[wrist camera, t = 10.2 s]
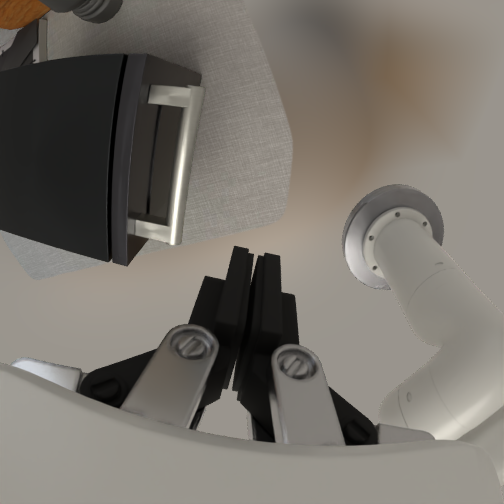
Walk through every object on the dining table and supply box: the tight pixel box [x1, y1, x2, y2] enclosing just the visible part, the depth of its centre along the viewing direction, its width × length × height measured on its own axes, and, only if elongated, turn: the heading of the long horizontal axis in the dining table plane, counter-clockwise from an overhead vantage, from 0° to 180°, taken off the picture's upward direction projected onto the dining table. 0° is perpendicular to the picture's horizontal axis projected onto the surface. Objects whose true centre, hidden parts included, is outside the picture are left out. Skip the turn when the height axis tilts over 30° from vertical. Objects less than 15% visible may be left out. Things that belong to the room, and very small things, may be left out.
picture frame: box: [0, 18, 47, 71], centre depth 28 cm, size 16×3×21 cm
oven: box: [0, 54, 128, 262], centre depth 27 cm, size 18×18×18 cm
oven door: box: [111, 54, 206, 266], centre depth 28 cm, size 6×18×18 cm, turn 168°
